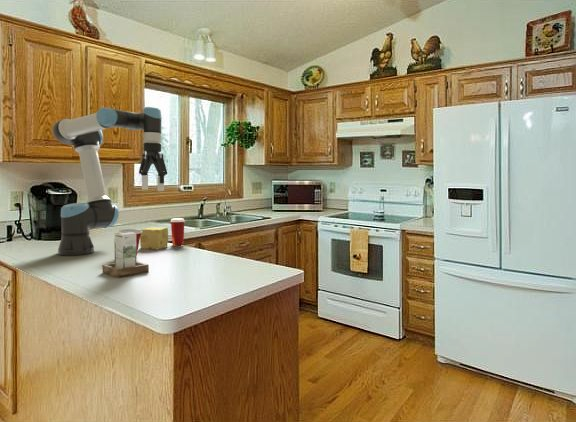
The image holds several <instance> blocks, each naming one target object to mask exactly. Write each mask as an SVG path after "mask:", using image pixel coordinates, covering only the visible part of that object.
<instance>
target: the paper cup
mask: <svg viewBox="0 0 576 422" xmlns="http://www.w3.org/2000/svg"><path fill="white" fill-rule="evenodd" d="M185 222H186V221H185V218H180V217H179V218H177V217H176V218H175V217H174V218H171V219H170V229H171V242H172V246H175V247H176V246H177V247H178V246H183V245H184V240H185V239H184V237H185Z"/></svg>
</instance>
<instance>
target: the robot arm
mask: <svg viewBox="0 0 576 422" xmlns="http://www.w3.org/2000/svg"><path fill="white" fill-rule="evenodd" d="M111 128H112V129H113V128H118V129H119V128H120V129H126V130H129V131H143V152H146V153H142V155H141V156H142V157H141V160H140V161H141V162H140V166H139V169H138V174H139V175H141V190H144V191H145V190H149V174H148V173H149V171H150V168H151V166H152V165H154V168H155V170H156V173H157V192H165V176H167V175H168V171H167V167H166V163H165V159H164V153H162V144H161V143H162V110H161V109H160V108H158V107H155V106H145V107H143V111H142V112H132V111H126V110H121V109H117V108H111V107H100V108H99V109H98V110H97V111H96V112H94V113H92V114H88V115H83V116H80V117H76V118H73V119H70V118H64V119H60V120H58V121H56V122H55V123H54V124H53V125H52V131H51V132H52V135H53V137H54V139H56V141H58V142H59V143H60V144H61V143H62V144H64V145H69V146H73V149H74V151H75V152H76V153H78V154H79V161H80V165H81V170H82V175H83V179H84V186H85V190H86V194H87V200H86V202H75V203H74V202H73V203H68V204H66V205H65V204H64V205H62V207H61V208H60V221H61V222H60V223H61V239H60V242H59V246H58V248H57V255H60V256H70V257H71V256H81V255H89V254H92V253H93V254H94V252H95V246H94V244H93V241H92V239H91V238H92V237H91V236H90V230H93V229H101V228H102V229H106V228H110V227H113V226H114V225H116V223H117V222H118V220H119V215H120V212H119V208H118V206H117V205H116V204H114V203H112V199H111V198H110V197H108V194H107V190H106V186H105V182H104V181H105V180H104V178H103V177H104V175H103V172H102V166H101V162H100V157H99V150H100V149H101V145H102V144H103V140H104V135H103V132H102V130H106V129H111Z"/></svg>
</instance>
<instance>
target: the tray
mask: <svg viewBox="0 0 576 422" xmlns="http://www.w3.org/2000/svg"><path fill="white" fill-rule="evenodd" d="M136 265H137V266H134V267H128V268H122V269H118V268H115V262H113V263H106V264H102V265H101V266H102V267H101V268H102V274H104V275H108V276H110V277H115V278H117V279H121V278H127V277H132V276H137V275H141V274H142V275H143V274H147V273H150V271H149V269H150V267H149V264H148V263H144V262H140V261H137V260H136Z"/></svg>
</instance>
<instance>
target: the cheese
mask: <svg viewBox="0 0 576 422" xmlns="http://www.w3.org/2000/svg"><path fill="white" fill-rule="evenodd" d="M168 229H169V228H168V227H147V228H141V229H140V230H141V231H143V232H142V233H141V236H140V240H139V245H140V249H143V250H144V249H147V250H149V249H151V250H160V249H163V248H166V247H168V244H169V243H168V242H169V230H168Z"/></svg>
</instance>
